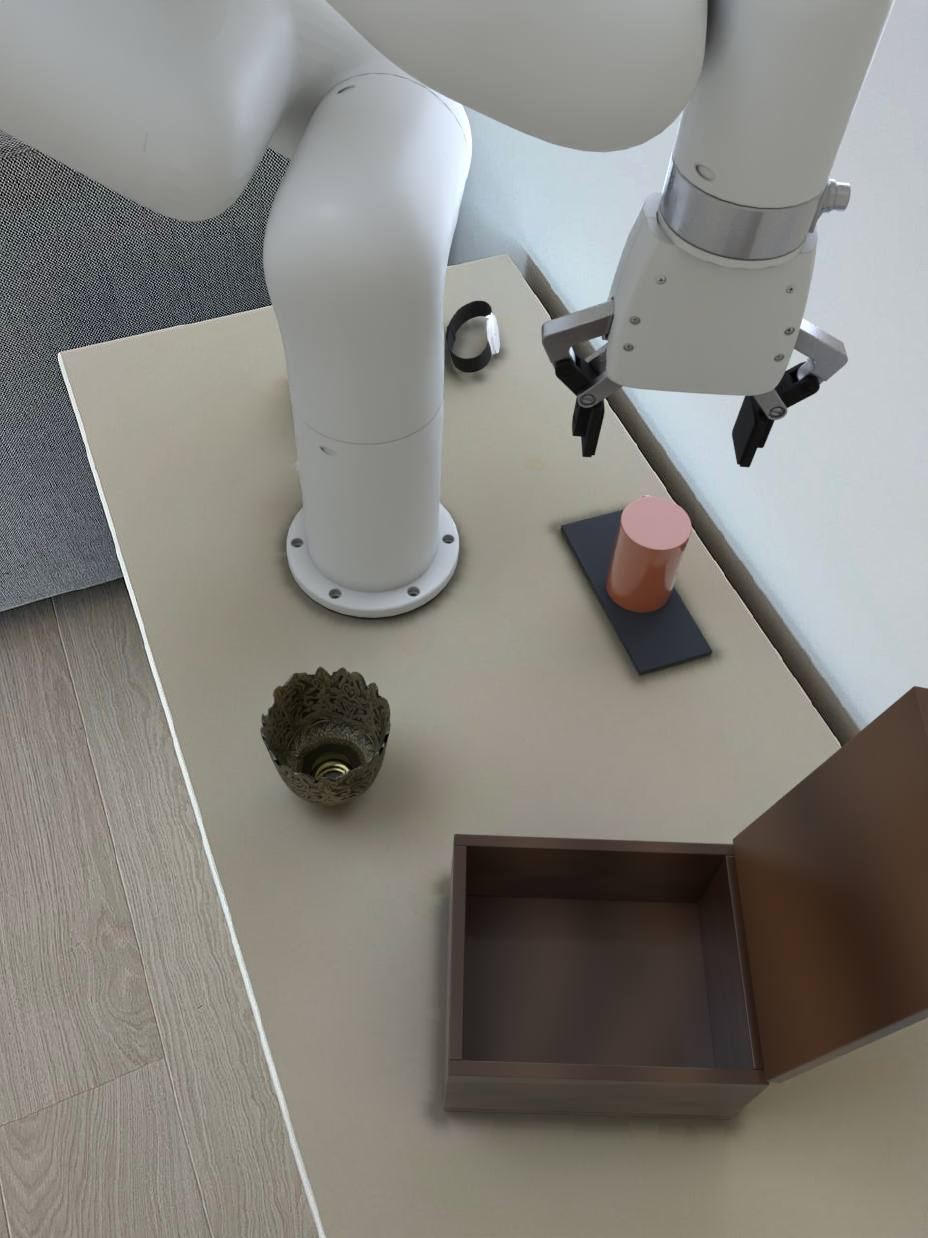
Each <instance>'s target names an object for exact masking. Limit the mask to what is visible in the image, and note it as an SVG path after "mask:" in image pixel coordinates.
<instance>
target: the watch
mask: <svg viewBox="0 0 928 1238" xmlns="http://www.w3.org/2000/svg"><path fill="white" fill-rule="evenodd" d="M479 317H485V319H486V339H487V343H486V347H485V348H484V350H482V351H481V353H479V354H478V355H476V356H475V357H474V356H473V357H468V358H463V357H460V356H458V355H456V354H455V353H454V352H453V351H454V344H455V342H456V339H457V333H458V331H459V330H460V328H461V327H462V326H463V325H464V324H465V323H466V322H468V321H470V320H472V319H475V318H479ZM444 338H445V342H446V345H447V349H448V352H449V356H450V359H451V362H452V364H453V366H454V367H455V368H456V369H457V370H459V371H461V372H463V373H468V374H470V373H471V374H472V373H477V372H479V371H482V370H483V369H485V368H486V367H487V366H488V365H489V363H490V362H491V360H492V358H493V357H494V355H496V354H499V352H500V347H501V346H500V345H501V344H500V342H501V341H500V330H499V325H498V320H497V317H496V315H495V314H493V309H492V306H491V304H490V303H488V302H487V301H485V300H473V301H470V302H467V303H465V304H464V305H463V306H461V307H459V308H458V309H457V310H456V312H455V313H454V314H453V316H452V317H451V319H450V321H449V322H448V325H447V326H446V331H445V333H444Z"/></svg>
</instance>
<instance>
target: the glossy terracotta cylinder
mask: <svg viewBox="0 0 928 1238" xmlns="http://www.w3.org/2000/svg"><path fill="white" fill-rule="evenodd" d="M622 510H623V512H622V515H621V518H620V523H619V527H618V531H617V535H616V539H615V543H614V547H613V551H612V556H611V560H610V564H609V568H608V572H607V576H606V581H605V585H606V590H607V592H608V594H609V596H610V597H611V599H612V600H613V601H614V602H615V603H616V604H618V605H619V606H620V607H622V608H624V609H626V610H629V611H633V612H639V613H646V612H652V611H655V610H658V609H659V608H661V607H662V606H664V605H665V604H666V603H667V601H668V600H669V598H670V595H671V592H672V589H673V586H674V587H675V584H676V583H675V582H676V580H677V577H678V574H679V571H680V568H681V565H682V562H683V559H684V556H685V552H686V549H687V547H688V544H689V540H690V537H691V534H692V528H693V527H692V526H693V525H692V521H691V518H690V516H689V515H688V513H687V512H686V510H685V509H684V508H682V506H680V505H679V504H677V503H676V502H674V501H672V500H669V499H667V498H663V497H659V496H654V495H650V494H644V495H643V496H641V497H639V498H636V499H634V500H632V501H631V502H629V503H628V504H627V505H626V506H625V507H624V508H623V509H622Z"/></svg>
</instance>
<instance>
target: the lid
mask: <svg viewBox="0 0 928 1238" xmlns="http://www.w3.org/2000/svg"><path fill="white" fill-rule="evenodd" d="M732 844H733V847H734V854H735V861H736V868H737V876H738V883H739V890H740V897H741V905H742V912H743V919H744V926H745V934H746V941H747V948H748V955H749V963H750V970H751V977H752V984H753V992H754V999H755V1006H756V1013H757V1021H758V1028H759V1035H760V1042H761V1050H762V1057H763V1064H764V1071H765V1079H766V1081H767V1082H770V1083H774V1084H781V1083H783V1082H787V1081H788V1080H790V1079H793V1078H795V1077H797V1076H799V1075H802V1074H804V1073H806V1072H808V1071H810V1070H813V1069H815V1068H817V1067H820V1066H822V1065H824V1064H827V1063H828V1062H831V1061H833V1060H835V1059H838V1058H840V1057H842V1056H844V1055H846V1054H849V1053H851V1052H853V1051H856V1050H858V1049H860V1048H863V1047H865V1046H867V1045H870V1044H872V1043H874V1042H876V1041H878V1040H881V1039H883V1038H885V1037H888V1036H890V1035H892V1034H895V1033H896V1032H899V1031H901V1030H904V1029H906V1028H908V1027H910V1026H912V1025H915V1024H917V1023H920V1022H921V1021H923V1020H925V1019H928V688H927V687H923V686H918V685H914V686H912V687H911V688H910V689H908V690H907V691H906V692H905V693H904V694H903V695H902V696H901V697H899V698H897V700H896V701H895V702H893V703H892V704H891V705H890V706H889V707H887V708H886V709H885V710H884V711H882V712H881V713H880V714H879V715H878V716H877V717H875V718H874V719H873V720H872V721H870V723H868V724H867V725H866V726H865V727H863V729H861V730H860V731H859V732H858V733H857V734H855V735H854V736H853V737H852V738H851V739H849V740H848V741H847V742H846V743H845V744H843V745H842V746H841V747H840V748H839V749H837V750H836V751H835V752H834V753H833V754H832V755H831V756H829V757H828V758H827V759H826V760H825V761H823V762H822V763H820V765H819V766H817V767H816V768H815V769H814V770H812V772H810V773H809V774H808V775H807V776H806V777H804V778H803V779H802V780H800V782H799V783H797V784H796V785H795V786H794V787H793V788H791V789H790V790H789V791H788V792H786V793H785V794H784V795H783V796H782V797H780V799H778V800H777V801H776V802H775V803H774V804H773V805H771V806H770V807H768V809H767V810H765V811H764V812H763V813H762V814H761V815H759V816H758V817H756V819H755V820H754V821H753V820H752V822H751V823H750V824H748V825H747V826H746V827H745V828H744V829H743V830H742V831H740V832H739V833H738V834H737V835H736V836H735V837H733V838H732Z"/></svg>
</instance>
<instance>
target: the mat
mask: <svg viewBox="0 0 928 1238" xmlns="http://www.w3.org/2000/svg"><path fill="white" fill-rule="evenodd" d="M623 510H624V509H620V510H616V511H613V512H609V513H605V514H601V515H597V516H593V517H589V518H585V519H581V520H577V521H573V522H569V523H565V524H561V526H560V530H561V532H562V534H563V535H564V537H565V540H566V541H567V543H568V545H569V547H570V549H571V551H572V553H573V555H574V556H575V558H576V560H577V562H578V563H579V566H580V568H581V570H582V571H583V573H584V575H585V576H586V578H587V580H588V582H589V584H590V586H591V587H592V590H593V591H594V593H595V595H596V597H597V599H598V600H599V603H600V605H601V606H602V608H603V610H604V612H605V614H606V616H607V617H608V619H609V621H610V623H611V625H612V627H613V629H614V631H615V632H616V635H617V636H618V638H619V640H620V642H621V643H622V645H623V647H624V649H625V651H626V653H627V655H628V657H629V658H630V660H631V662H632V664H633V666H634V668H635V669H636V671H637V673H638V675H639V676H641V675H646V674H649V673H652V672H656V671H659V670H662V669H666V668H668V667H672V666H676V665H679V664H683V663H686V662H690V661H693V660H697V659H700V658H704V657H707V656H710V655H712V653H713V649H712V648H711V647H710V644H709V643H708V641H707V640H706V638H705V636H704V634H703V633H702V631H701V629H700V628H699V627H698V624H697V623H696V621H695V619H694V618H693V616H692V615H691V613H690V611H689V609H688V608H687V606H686V604H685V602H684V600H683V599H682V597H681V596H680V594H679V592H678V591H677V589H676V587H675V585H674V586H673V589H672V592H671V595H670V598H669V600H668V601H667V603H666V604H665V605H664V606H662V607H661V608H659V609H658V610H655V611H652V612H646V613H639V612H633V611H629V610H626V609H624V608H622V607H620V606H619V605H618V604H616V603H615V602H614V601H613V600H612V599H611V597H610V596H609V594H608V592H607V590H606V585H605V581H606V576H607V572H608V568H609V564H610V560H611V556H612V551H613V547H614V543H615V539H616V535H617V531H618V527H619V523H620V518H621V515H622V512H623Z"/></svg>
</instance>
